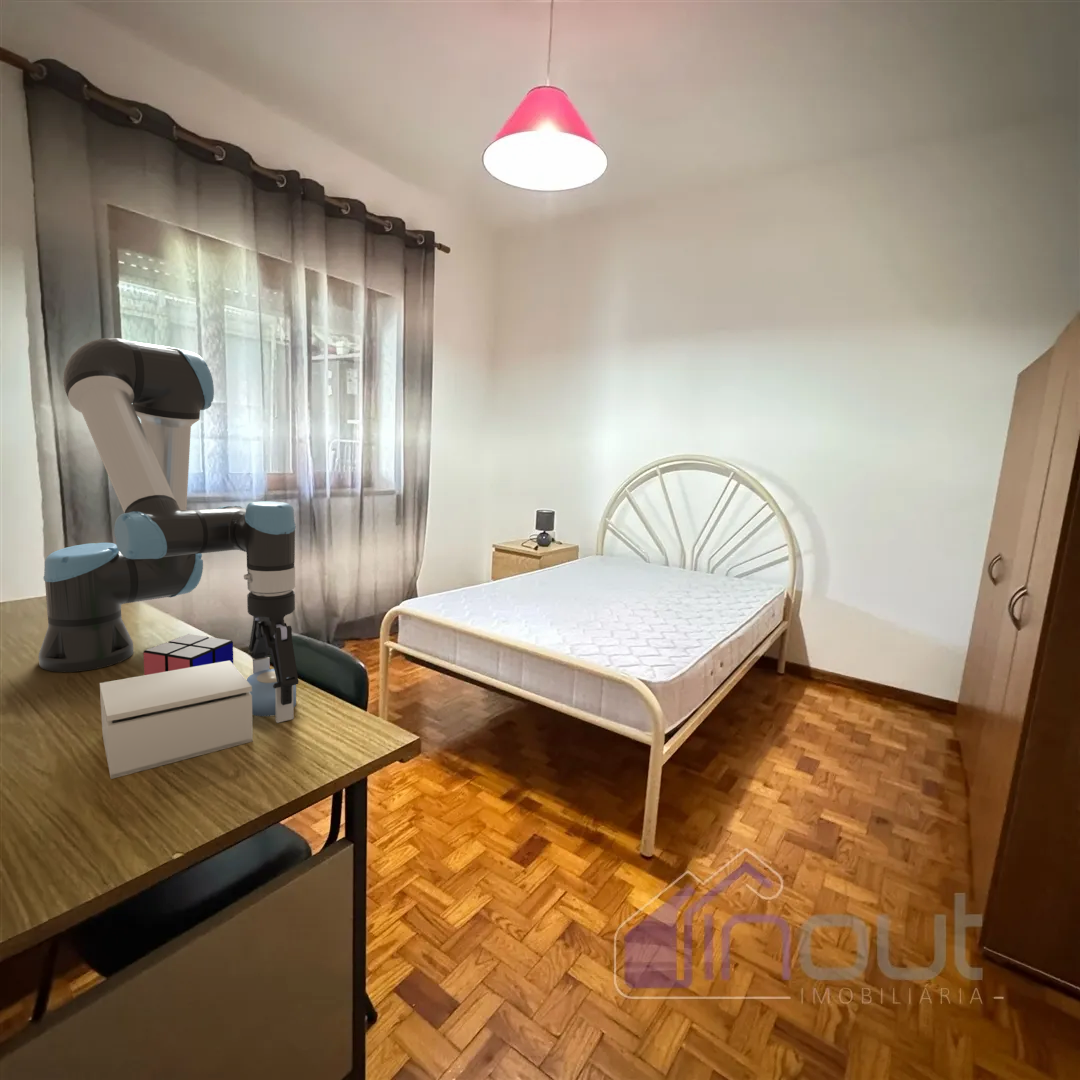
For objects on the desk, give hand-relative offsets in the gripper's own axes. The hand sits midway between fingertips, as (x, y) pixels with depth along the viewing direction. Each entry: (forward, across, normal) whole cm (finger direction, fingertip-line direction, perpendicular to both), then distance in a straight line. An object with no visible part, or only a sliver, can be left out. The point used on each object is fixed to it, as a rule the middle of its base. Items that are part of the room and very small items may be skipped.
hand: (272, 705), depth 101 cm
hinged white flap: (-8, +4, -15) cm, 17 cm away
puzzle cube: (0, -11, -11) cm, 16 cm away
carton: (0, +4, -15) cm, 15 cm away
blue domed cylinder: (0, 0, 0) cm, 0 cm away
